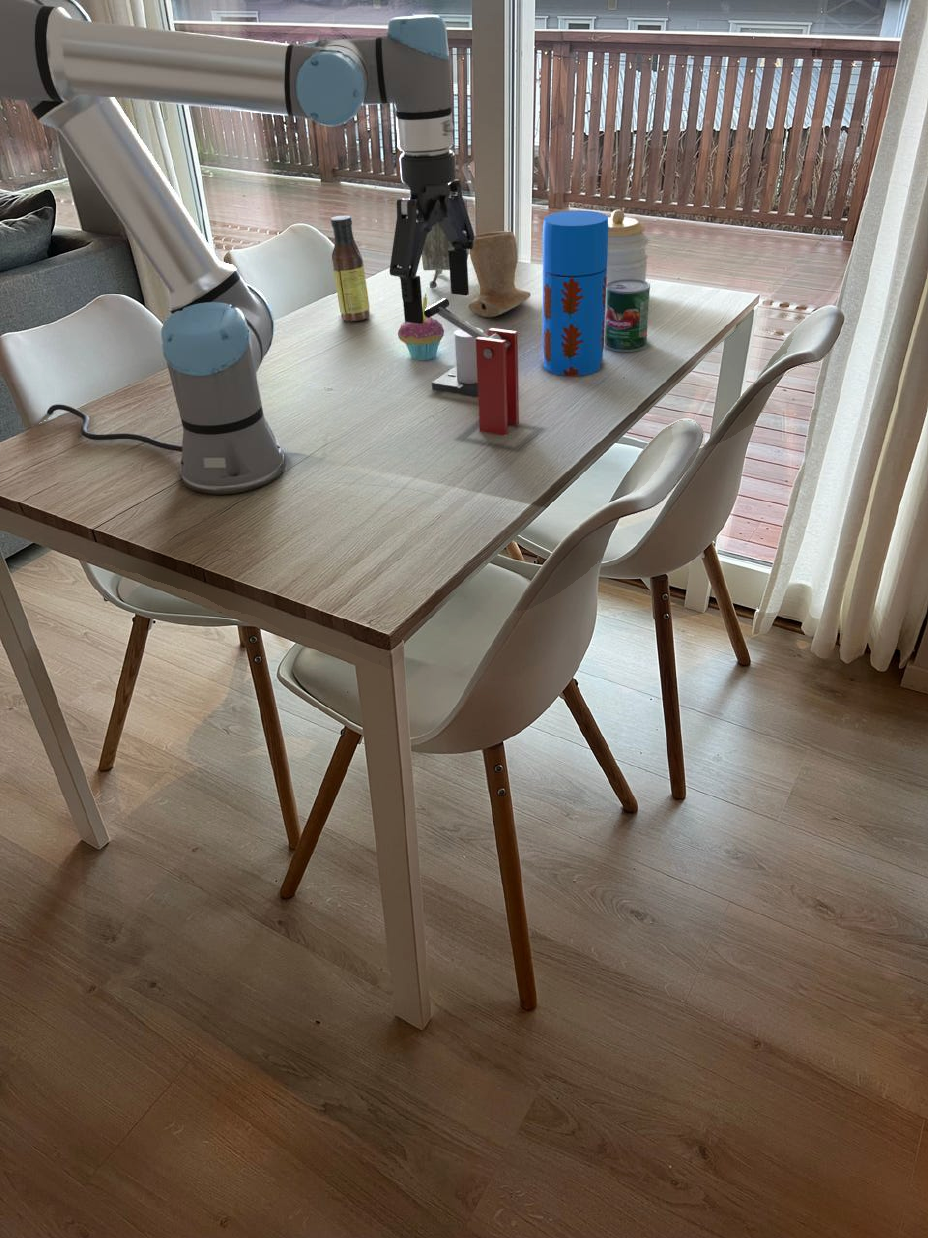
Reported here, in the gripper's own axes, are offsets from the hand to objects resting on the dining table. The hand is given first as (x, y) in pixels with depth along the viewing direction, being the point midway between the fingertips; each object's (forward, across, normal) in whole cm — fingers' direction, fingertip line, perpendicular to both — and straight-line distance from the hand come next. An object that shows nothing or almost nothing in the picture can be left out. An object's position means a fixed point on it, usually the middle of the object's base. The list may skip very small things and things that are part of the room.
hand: (437, 307), depth 139 cm
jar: (+19, +69, -2) cm, 72 cm away
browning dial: (+16, +13, +2) cm, 21 cm away
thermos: (+19, +31, -9) cm, 37 cm away
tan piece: (+19, +55, +19) cm, 61 cm away
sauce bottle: (+19, +39, +44) cm, 62 cm away
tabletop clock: (+19, +68, +38) cm, 80 cm away
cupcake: (+19, +25, +19) cm, 37 cm away
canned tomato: (+19, +44, -14) cm, 50 cm away
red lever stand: (+19, 0, -10) cm, 21 cm away
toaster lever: (+4, 0, -5) cm, 6 cm away
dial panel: (+19, +13, +2) cm, 23 cm away
